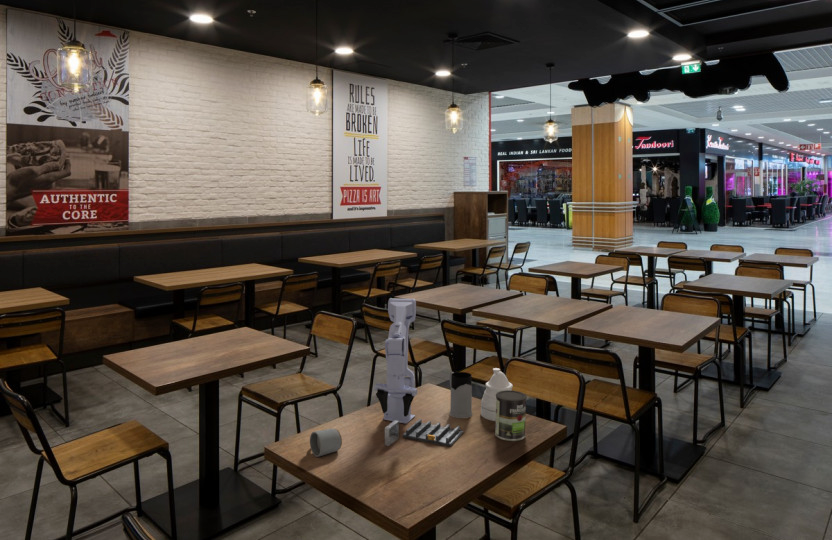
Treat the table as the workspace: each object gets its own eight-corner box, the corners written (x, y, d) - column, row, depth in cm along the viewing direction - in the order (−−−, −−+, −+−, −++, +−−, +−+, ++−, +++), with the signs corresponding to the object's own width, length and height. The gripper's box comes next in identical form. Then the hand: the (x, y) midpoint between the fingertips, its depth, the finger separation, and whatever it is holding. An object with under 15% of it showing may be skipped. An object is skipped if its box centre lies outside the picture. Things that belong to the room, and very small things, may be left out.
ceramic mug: (343, 453, 182) (343, 429, 181) (320, 460, 177) (320, 436, 176) (326, 442, 190) (326, 420, 189) (304, 449, 185) (303, 426, 184)
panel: (384, 445, 188) (384, 427, 187) (394, 437, 194) (394, 420, 193) (389, 446, 187) (389, 428, 186) (398, 438, 193) (398, 421, 192)
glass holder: (455, 419, 209) (455, 379, 207) (439, 406, 222) (440, 368, 221) (476, 416, 213) (477, 377, 211) (460, 403, 226) (460, 366, 224)
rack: (402, 437, 194) (402, 430, 193) (417, 424, 205) (417, 417, 204) (450, 446, 187) (450, 439, 186) (463, 433, 197) (463, 426, 197)
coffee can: (531, 437, 194) (533, 397, 192) (506, 443, 189) (507, 402, 187) (513, 426, 203) (514, 388, 201) (488, 432, 198) (489, 392, 196)
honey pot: (503, 424, 205) (504, 375, 203) (474, 415, 214) (474, 368, 211) (522, 414, 215) (523, 367, 213) (493, 405, 223) (494, 360, 221)
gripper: (370, 374, 187) (370, 414, 189) (411, 380, 181) (411, 421, 183) (379, 368, 193) (379, 407, 195) (419, 373, 188) (419, 413, 190)
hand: (395, 413), depth 189 cm, fingers open, 7 cm apart
